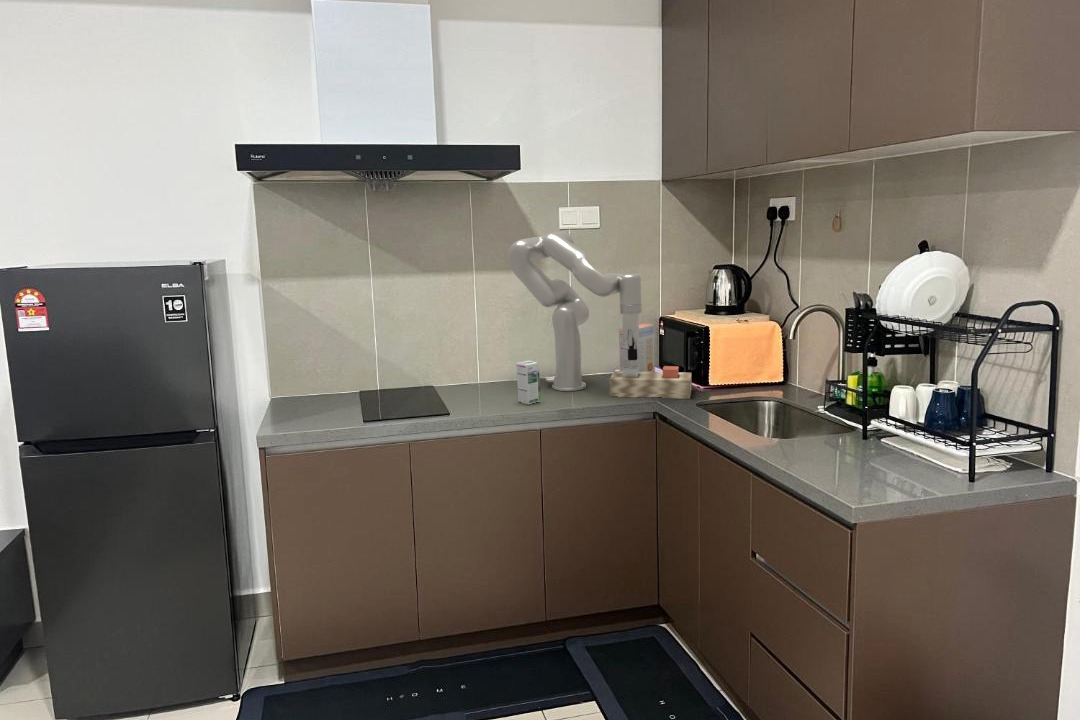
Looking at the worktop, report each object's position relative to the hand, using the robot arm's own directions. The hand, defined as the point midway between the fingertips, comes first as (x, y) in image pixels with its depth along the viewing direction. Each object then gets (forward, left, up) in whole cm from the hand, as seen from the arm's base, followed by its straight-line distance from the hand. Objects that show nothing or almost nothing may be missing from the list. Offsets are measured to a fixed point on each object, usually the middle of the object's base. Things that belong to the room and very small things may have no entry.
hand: (632, 359), depth 281 cm
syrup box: (-35, -16, -13) cm, 40 cm away
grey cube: (-1, 0, -7) cm, 8 cm away
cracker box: (-1, +20, -13) cm, 24 cm away
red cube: (+13, 0, -7) cm, 15 cm away
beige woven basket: (+6, 0, -12) cm, 14 cm away
